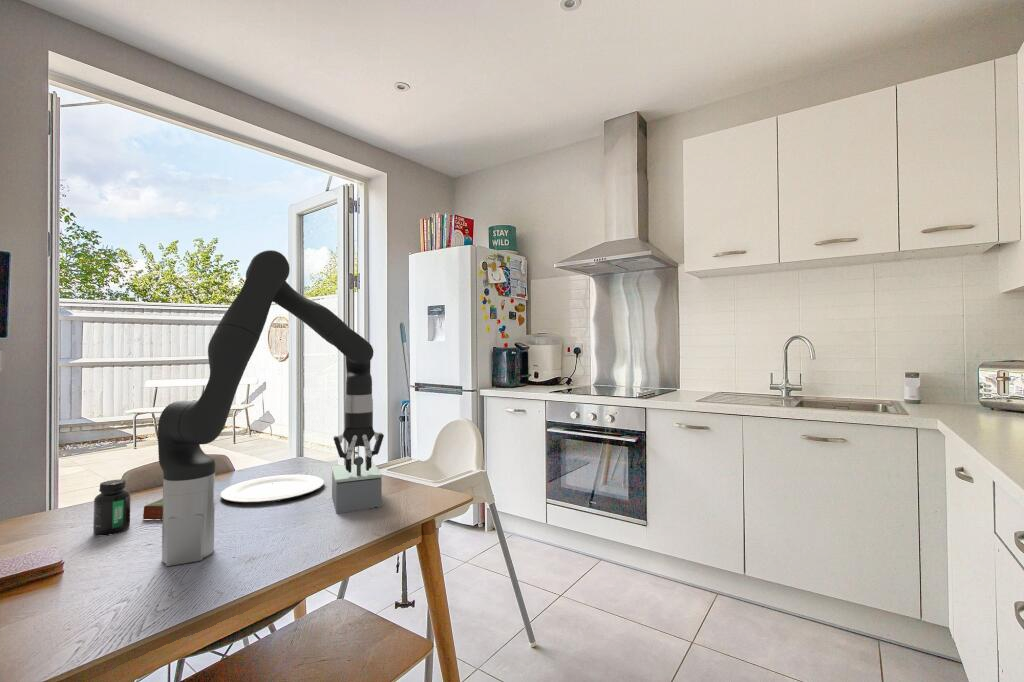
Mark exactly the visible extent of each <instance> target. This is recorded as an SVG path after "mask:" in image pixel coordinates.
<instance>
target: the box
mask: <svg viewBox="0 0 1024 682" xmlns="http://www.w3.org/2000/svg"><path fill="white" fill-rule="evenodd" d="M331 481H332V482H331V498H332V502H333V506H334V510H335V513H336V514H342V513H343V512H344V513H349V512H348V511H351V512H356V511H355V510H358V511H363V510H362V509H365V510H369V509H368V508H372V509H375V508H374V507H379V508H382V487H383V486H382V485H383V484H382V481H383V480H382V478H373V479H364V480H356V481H347V482H338V483H336V482H335V479H334V475H333V472H332V471H331Z"/></svg>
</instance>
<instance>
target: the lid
mask: <svg viewBox="0 0 1024 682" xmlns="http://www.w3.org/2000/svg"><path fill="white" fill-rule="evenodd" d="M345 465H346V464H343V465H332V466H331V473H332V472H333V475H334V479H335V482H336V483H338V482H347V481H356V480H364V479H373V478H381V479H382V478H383V473H382V472H381V471H380V469H379V467H377V465H376V464H375V462H373V461H372V467H371V468H369V471H366V462H365V461H364V458H363V457H362V456H360V455H358V456H356V457H355V458H354V459H353V464H352V463H351V472H350V473H349V472H348V471H347V470H346V468H345Z"/></svg>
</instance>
